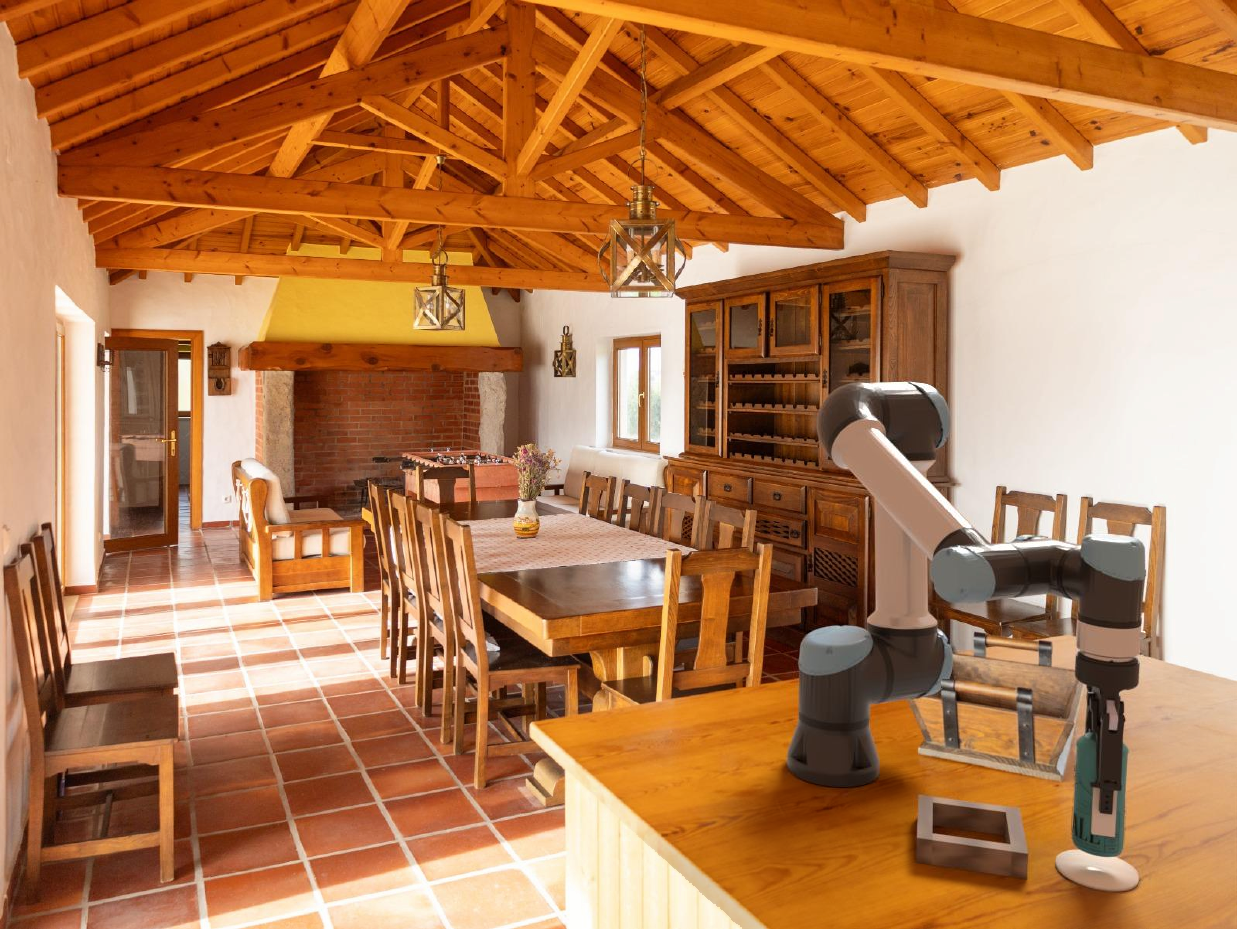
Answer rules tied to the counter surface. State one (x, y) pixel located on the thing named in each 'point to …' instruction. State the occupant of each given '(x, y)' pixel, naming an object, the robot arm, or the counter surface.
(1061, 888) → the counter surface
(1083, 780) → the beverage bottle
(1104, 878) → the coaster
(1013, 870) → the holder
